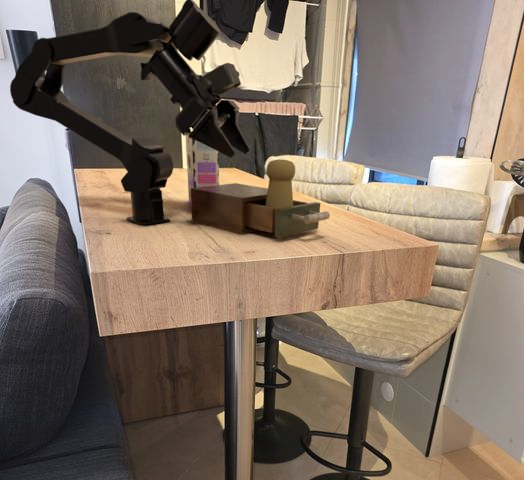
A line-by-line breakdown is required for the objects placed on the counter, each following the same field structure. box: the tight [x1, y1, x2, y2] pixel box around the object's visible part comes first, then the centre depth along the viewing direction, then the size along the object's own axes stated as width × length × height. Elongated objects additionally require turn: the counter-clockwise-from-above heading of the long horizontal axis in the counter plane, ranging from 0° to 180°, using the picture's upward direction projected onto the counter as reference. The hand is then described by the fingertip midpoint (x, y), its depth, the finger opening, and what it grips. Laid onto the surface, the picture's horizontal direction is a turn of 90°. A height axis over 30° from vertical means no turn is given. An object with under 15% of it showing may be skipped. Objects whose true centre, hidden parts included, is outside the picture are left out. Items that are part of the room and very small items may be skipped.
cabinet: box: [190, 182, 268, 235], centre depth 92 cm, size 15×13×7 cm
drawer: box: [245, 199, 331, 239], centre depth 85 cm, size 18×11×5 cm, turn 47°
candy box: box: [185, 129, 220, 206], centre depth 104 cm, size 14×6×16 cm, turn 14°
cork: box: [265, 158, 296, 221], centre depth 84 cm, size 6×6×11 cm
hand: (241, 154), depth 82 cm, fingers open, 9 cm apart
